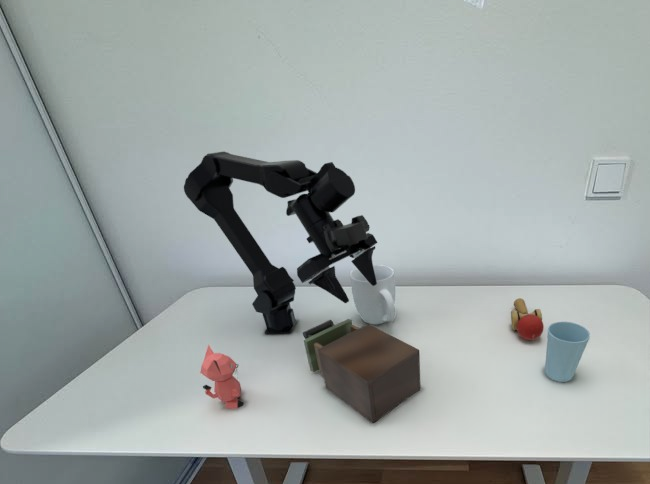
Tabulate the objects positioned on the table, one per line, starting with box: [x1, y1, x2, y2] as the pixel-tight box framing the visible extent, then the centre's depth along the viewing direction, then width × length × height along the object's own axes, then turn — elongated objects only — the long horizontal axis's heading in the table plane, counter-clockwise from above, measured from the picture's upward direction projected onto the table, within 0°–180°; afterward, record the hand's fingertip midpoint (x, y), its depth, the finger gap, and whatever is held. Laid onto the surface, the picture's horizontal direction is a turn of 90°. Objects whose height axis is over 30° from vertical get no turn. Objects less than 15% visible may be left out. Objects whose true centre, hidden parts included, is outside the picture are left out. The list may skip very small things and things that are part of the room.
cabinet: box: [318, 323, 421, 424], centre depth 72 cm, size 15×13×10 cm
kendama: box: [510, 297, 545, 341], centre depth 92 cm, size 8×6×18 cm
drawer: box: [302, 318, 360, 376], centre depth 77 cm, size 18×11×8 cm, turn 46°
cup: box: [544, 321, 591, 383], centre depth 74 cm, size 8×8×10 cm
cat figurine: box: [199, 344, 244, 410], centre depth 69 cm, size 7×7×12 cm
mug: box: [349, 263, 396, 325], centre depth 93 cm, size 15×11×13 cm
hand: (361, 293), depth 76 cm, fingers open, 9 cm apart
